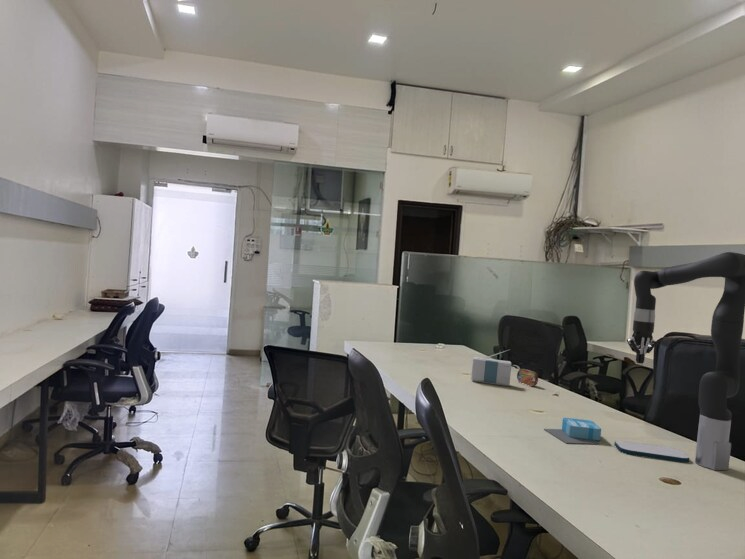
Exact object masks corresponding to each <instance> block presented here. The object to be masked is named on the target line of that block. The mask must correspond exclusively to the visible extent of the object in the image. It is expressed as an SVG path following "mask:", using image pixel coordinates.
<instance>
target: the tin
mask: <svg viewBox="0 0 745 559" xmlns="http://www.w3.org/2000/svg"><path fill="white" fill-rule="evenodd" d="M516 373H517V374H516V379H517V381H518V382H519V383H520V382H521V383H520V384H522V383H524V384H523V385H525V384H527V385H526V386H528V385H529V386H528V387H536V386H537V385H538V382H539V375H538V374H537V372H536V371H533V370H530V369H525V368H520V369H519V370H518V371H517V372H516Z"/></svg>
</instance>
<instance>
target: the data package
mask: <svg viewBox="0 0 745 559" xmlns="http://www.w3.org/2000/svg"><path fill="white" fill-rule="evenodd" d="M561 422H562V424H561V429H563V431H564V432H565V433H566V434H567V435H568V436H569V437H572V438H581V439H589V440H594V441H601V435H602V428H601V427H600V426H599V425H597V424H596V423H595V422H594V421H592V420H589V419H583V418H581V419H579V418H572V417H563V418H562V421H561Z"/></svg>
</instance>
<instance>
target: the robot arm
mask: <svg viewBox="0 0 745 559" xmlns="http://www.w3.org/2000/svg"><path fill="white" fill-rule="evenodd" d="M703 278H724V285H723V286H724V288H723V293H722V295H721V297H720V300H719V301H718V303H717V304H716V307H715V309H714V311H713V314H712V316H711V328H710V335H711V340H712V344H713V345H714V349H715V353H716V366H715V370H714V371H709V372H708V371H707V372H706V373H704V374H703V375H702V376H701V378H700V381H699V386H698V387H699V389H698V407H699V421H698V430H697V437H696V438H697V439H696V445H695V446H696V447H695V456H694V457H695V458H694V463H695V464H697V465H699V466H701V467H704V468H707V469H710V470H712V471H729V468H730V459H731V450H732V442H730V433H731V426H732V425H731V424H732V416H733V414H732V412H731V411H730V410H729V409H728V407H727V402H728V401H727V399H729V398H730V399H731V398H732V397H735V396H736V395H737V394H738V392H739V389H740V385H741V384H740V383H741V382H740V380H741V379H740V378H741V377H740V360H741V359H740V356H741V350H742V347H741V346H742V338H743V332H744V322H745V254H743V253H740V252H732V251H725V252H722V253H719V254H716V255H713V256H711V257H709V258H706V259H702V260H699V261H695V262H690V263H683V264H678V265H673V266H668V267H664V268H661V269H659V270H658V271H651V270H640V271H638V272H637V273H636V274H635V276H634V280H633V287H634V292H635V297H636V300H635V309H634V313H633V320H632V321H633V324H632V332H633V333H632V335H631V337H630V338H627V339H626V342H627V344H628V346H629V348H630V350H631V351H632V352H634V353H635V354H636V356H635V362H636V363H637V364H644V362H645V357H646V354H650V353H651V352H652V350H653V349H654V348H655V347H656V345H657V344H658V342H657V341H656V340H654V337H653V333H654V332H655V331H654V330H655V319H656V304H657V299H656V296H654V295H653V294H652V291H651V290H655V289H656V290H657V289H660V288H664V287H666V286H675V285H679V284H680V285H681V284H686V283H690V282H693V281H695V280H699V279H703Z"/></svg>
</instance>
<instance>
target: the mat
mask: <svg viewBox="0 0 745 559" xmlns="http://www.w3.org/2000/svg"><path fill="white" fill-rule="evenodd" d="M543 430H544V431H545V432H546V433H549V435H551V436H553V437H555V438H556V439H557V440H559V441H561V442H562V443H565V444H566V445H567V444H568V445H569V444H570V445H598V444H600V442H598V441H597V440H589V439H581V438H572V437H569V436H568V435H567V434H566V433H565V432H564V431H563V429H562V428H543Z"/></svg>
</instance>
